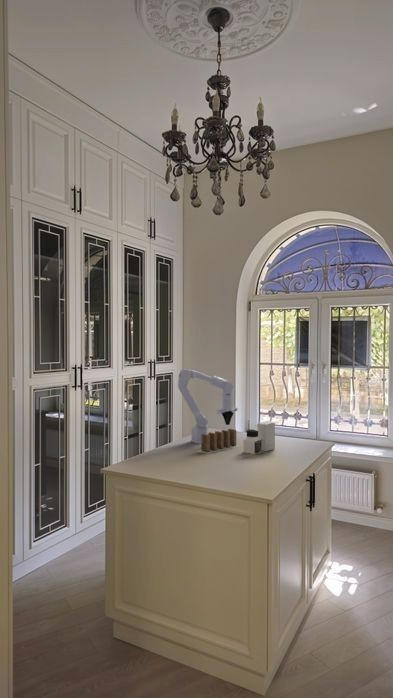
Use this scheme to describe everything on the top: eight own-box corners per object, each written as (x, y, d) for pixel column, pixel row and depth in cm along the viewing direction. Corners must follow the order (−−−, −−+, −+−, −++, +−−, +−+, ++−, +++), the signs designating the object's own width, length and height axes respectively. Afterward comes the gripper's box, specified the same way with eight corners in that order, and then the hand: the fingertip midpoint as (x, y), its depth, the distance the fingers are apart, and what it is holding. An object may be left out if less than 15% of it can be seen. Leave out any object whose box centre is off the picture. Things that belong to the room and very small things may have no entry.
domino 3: (221, 446, 255) (221, 430, 255) (223, 445, 256) (223, 429, 256) (227, 447, 251) (227, 431, 251) (230, 447, 252) (229, 431, 252)
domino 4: (227, 444, 258) (227, 428, 258) (229, 444, 259) (229, 428, 259) (234, 446, 255) (234, 430, 254) (236, 445, 256) (236, 429, 255)
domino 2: (215, 447, 252) (215, 431, 252) (217, 447, 253) (217, 431, 253) (221, 449, 248) (221, 432, 248) (223, 448, 249) (223, 432, 249)
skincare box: (267, 447, 254) (267, 420, 253) (275, 449, 249) (275, 422, 248) (256, 449, 248) (256, 422, 248) (265, 451, 244) (265, 424, 243)
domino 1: (208, 449, 249) (208, 432, 248) (210, 448, 250) (210, 432, 249) (214, 450, 245) (214, 434, 244) (216, 450, 246) (216, 433, 246)
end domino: (201, 450, 245) (201, 434, 245) (203, 450, 246) (203, 433, 246) (207, 452, 241) (207, 435, 241) (209, 452, 242) (209, 435, 242)
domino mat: (196, 451, 245) (196, 450, 245) (230, 443, 262) (230, 443, 262) (206, 454, 239) (206, 453, 239) (241, 446, 256) (241, 445, 256)
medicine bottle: (254, 454, 238) (254, 431, 237) (243, 452, 242) (243, 430, 242) (261, 452, 244) (261, 429, 243) (250, 449, 248) (250, 427, 247)
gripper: (223, 403, 259) (223, 427, 259) (241, 400, 268) (241, 423, 269) (214, 402, 264) (214, 425, 265) (232, 399, 274) (232, 422, 274)
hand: (227, 424), depth 267 cm, fingers closed
